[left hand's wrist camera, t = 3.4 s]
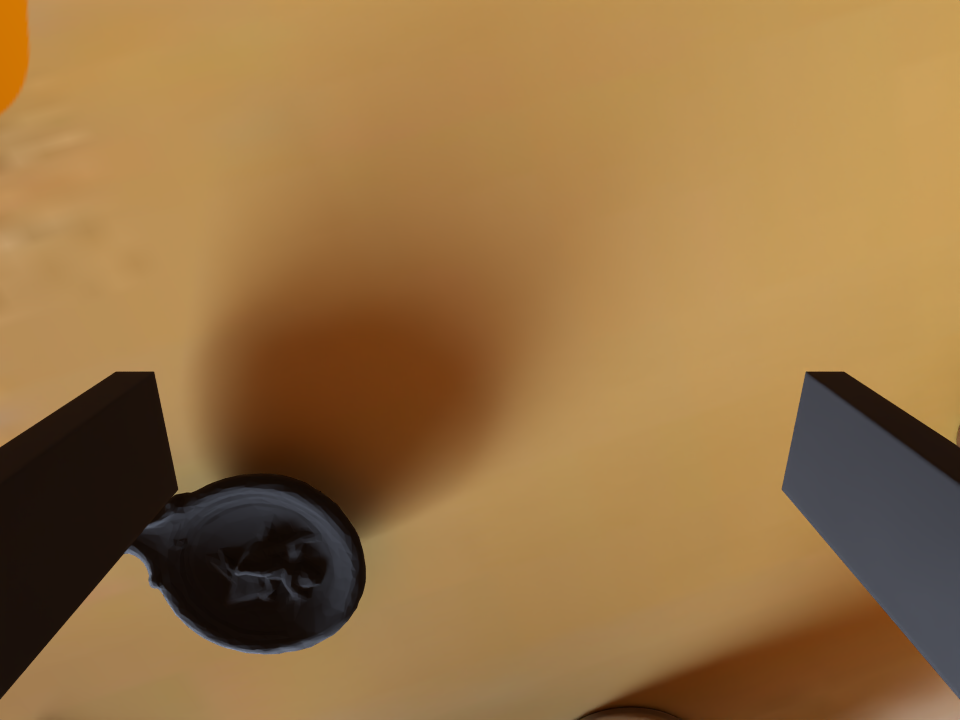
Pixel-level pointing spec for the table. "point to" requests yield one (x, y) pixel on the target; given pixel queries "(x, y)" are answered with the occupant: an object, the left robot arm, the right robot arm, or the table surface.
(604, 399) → the table surface
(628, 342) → the table surface
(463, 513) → the table surface
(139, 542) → the oil lamp
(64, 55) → the table surface
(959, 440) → the bottle
